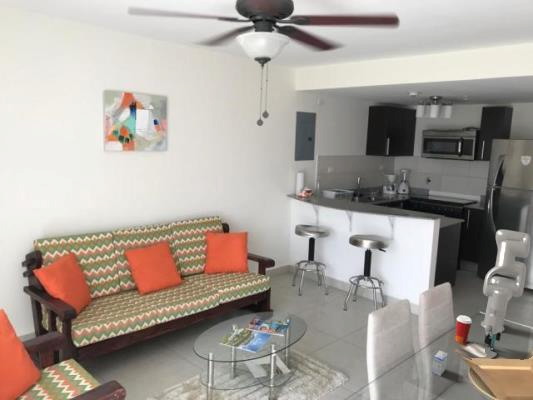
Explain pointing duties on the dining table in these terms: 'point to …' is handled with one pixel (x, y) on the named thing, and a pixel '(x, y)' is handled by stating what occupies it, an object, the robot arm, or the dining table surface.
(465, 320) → the paper cup
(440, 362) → the medicine box
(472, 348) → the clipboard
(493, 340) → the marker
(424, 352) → the dining table surface
